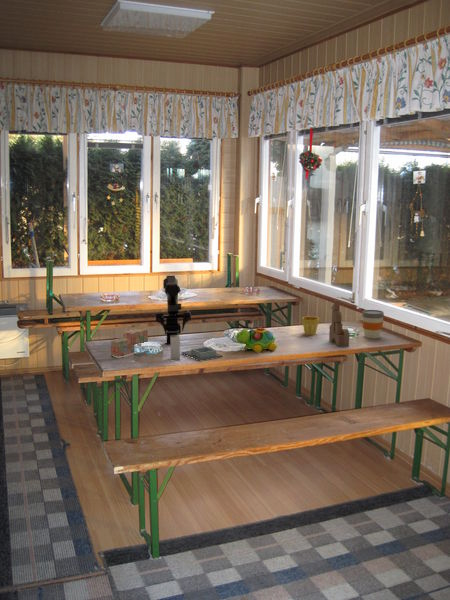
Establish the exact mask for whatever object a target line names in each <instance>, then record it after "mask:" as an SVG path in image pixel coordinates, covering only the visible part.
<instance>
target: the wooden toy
mask: <svg viewBox="0 0 450 600" xmlns="http://www.w3.org/2000/svg"><path fill="white" fill-rule="evenodd" d="M340 304H341V301H340V300H334V303H333V305H332V306H331V310H332V312H331V313H332V314H331V316H332V317H331V324H330V325H329V333H328V335H329V336H328V341H329V342H330V343H335V345H336V346H337V347H339V348H340V347H350V331H349V329H348V328H347V327H343V322H342V319H343V318H342V315H343V314H342V312H341V310H340V306H341V305H340Z"/></svg>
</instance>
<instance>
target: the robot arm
mask: <svg viewBox="0 0 450 600" xmlns="http://www.w3.org/2000/svg"><path fill="white" fill-rule="evenodd" d="M162 281H163V283H162V284H163V285H162V286H163V289H164V294H165V295H166V296H167V297H166V302H167V314H164V312H156V313H155V323H157V322H158V323H159V324H160V325H161V326H162V329H163V331H164V335H166V342H167V344H166V345H169V344H171V341H170V335H180V334H181V333H182V332H184V329H185V326H186V324H187V323H189V321H192V320H191V319H192V313H191V312H190V311H183V314H179V313H180V310H181V311H182V310H183V309H182V308H183V307H182V303H179V294H180V292H181V287H180V285H179V282H178V281H179V280H178V279H177V278H176V276H175V275H166V277H165V278H164V279H162ZM179 319H182V325H181V324H180V322H179Z"/></svg>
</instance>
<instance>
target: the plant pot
mask: <svg viewBox="0 0 450 600" xmlns="http://www.w3.org/2000/svg"><path fill="white" fill-rule="evenodd" d="M301 324H302V326H303V332H304V335H306V336H314V335H316V333H317V329H318V326H319V324H320V318H319V317H317V316H311V315H309V316H303V317H302V318H301Z"/></svg>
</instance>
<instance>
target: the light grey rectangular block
mask: <svg viewBox="0 0 450 600" xmlns="http://www.w3.org/2000/svg"><path fill="white" fill-rule="evenodd" d="M180 339H181V338H180V334H178V335H170V341H171V345H170V361H171V360H176V361H181V354H180V353H181V352H180V351H181V350H180V349H181V347H180V346H181V344H180V343H181V342H180Z"/></svg>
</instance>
